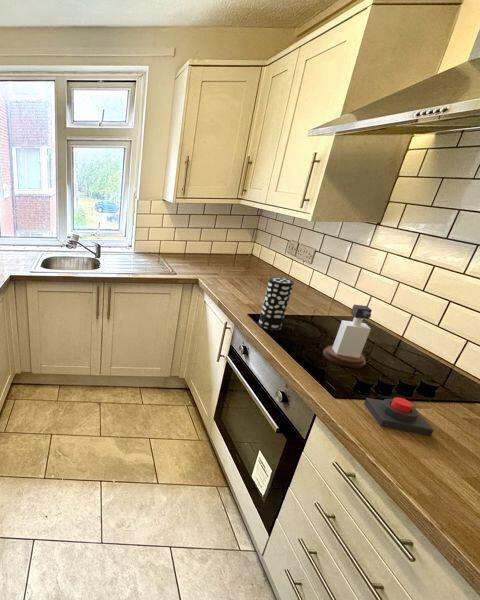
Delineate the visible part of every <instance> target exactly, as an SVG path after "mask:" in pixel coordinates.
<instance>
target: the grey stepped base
mask: <svg viewBox="0 0 480 600" xmlns="http://www.w3.org/2000/svg"><path fill="white" fill-rule="evenodd" d="M393 399H394V398H385V399H383V400H382V399H377V398H371V397H366V398H365V401H364V402H363V405H364V406H365V408H366V409H367V410H368V412H369V413H370V415H371V416H372V418H373V419H374V420H375V421H376V423H377V424H378V426H379V427H381V428H385V429H386V428H387V429H390V430H396V431H401V432H406V433H410V434H416V435H421V436H426V437H432V435H433V433H434V430H435V429H434V428H433V427H432V425H430V424H429V422H428V421H427V420H426V419H425V418H424V417H423V416H422V415H421V414H420V412H419V410H417V409H416V407H414V406H413V407H412V409H411V411H410V413H405V412H401V411H399V410H396V409H395V408H393V407H392V406H391V403H392V401H393Z"/></svg>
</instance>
